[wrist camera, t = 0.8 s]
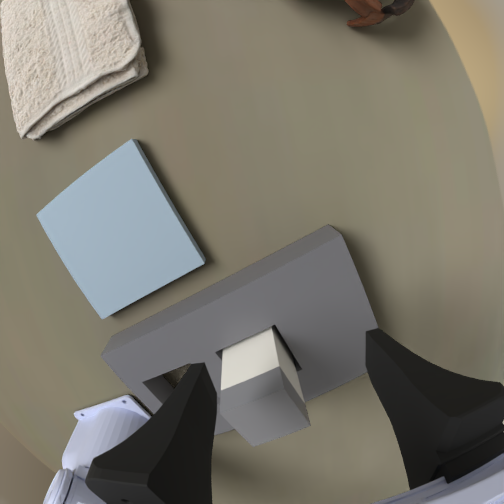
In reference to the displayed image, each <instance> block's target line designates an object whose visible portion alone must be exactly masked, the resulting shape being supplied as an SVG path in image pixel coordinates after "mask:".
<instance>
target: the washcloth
mask: <svg viewBox="0 0 504 504" xmlns="http://www.w3.org/2000/svg"><path fill="white" fill-rule="evenodd" d="M0 8H1V13H0V14H1V25H2V29H1V32H2V44H3V55H2V56H3V57H4V65H5V70H6V72H5V73H6V76H7V81H8V84H9V94H10V98H11V100H12V102H11V104H12V110H13V116H14V121H15V122H16V128H17V132H19V134H20V137H21V138H22V139H25V138H27V137H28V138H32V140H36V139H38V138H41V136H42V135H43V134H44V133H46V132H47V131H51V130H54V129H56V128H58V127H59V126H61V125H62V124H64V123H65V122H67V121H69V120H70V119H72V118H74V117H75V116H77V115H78V114H79V113H81V112H82V111H83V110H85V109H86V108H87V107H89V106H90V105H92V104H94V103H95V102H98V101H99V100H101V99H103V98H105V97H107V96H109V95H111V94H113V93H114V92H116V91H118V90H120V89H122V88H124V87H125V86H127V85H130V84H131V83H133V82H135V81H137V80H139V79H141V78H143V77H145V76H147V75H148V71H149V70H148V68H147V62H146V60H145V59H146V57H145V51H144V48H143V47H140V45H141V43H142V41H141V38H140V30H139V28H138V24H137V21H136V18H135V15H134V12H133V9H132V7H131V4H130V1H129V0H3V1H2V3H1V6H0Z"/></svg>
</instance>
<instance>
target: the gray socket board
mask: <svg viewBox="0 0 504 504" xmlns="http://www.w3.org/2000/svg"><path fill="white" fill-rule="evenodd" d="M273 325H276V327H277V329H278V330H279V332H280V334H281V335H282V337H283V339H284V340H285V342H286V343H287V345H288V347H289V348H290V350H291V353H292V357H293V361H294V364H295V368H296V372H297V376H298V379H299V383H300V387H301V391H302V394H303V398H304V402H306V401H309V400H311V399H313V398H315V397H318V396H320V395H322V394H324V393H326V392H328V391H331V390H333V389H335V388H337V387H339V386H341V385H343V384H345V383H347V382H349V381H351V380H353V379H355V378H357V377H359V376H361V375H362V374H364V373H366V372H368V371H367V368H366V366H365V352H366V331H369V330H372V329H376V328H378V325H377V322H376V320H375V317H374V314H373V311H372V309H371V306H370V303H369V301H368V298H367V295H366V293H365V290H364V288H363V285H362V283H361V280H360V278H359V275H358V273H357V270H356V268H355V265H354V263H353V260H352V258H351V256H350V253H349V251H348V248H347V246H346V244H345V241H344V239H343V237H342V235H341V234H340V233H339V232H338V231H336V230H335V229H334V228H333V227H331V226H330V225H329V224H328V225H326V226H324V227H322V228H320V229H319V230H317V231H315V232H313V233H311V234H309V235H307V236H305V237H303V238H302V239H300V240H298V241H296V242H294V243H292V244H290V245H288V246H286V247H284V248H283V249H281V250H279V251H277V252H275V253H273V254H271V255H269V256H267V257H265V258H263V259H262V260H260V261H258V262H256V263H254V264H252V265H250V266H248V267H246V268H244V269H242V270H240V271H238V272H237V273H235V274H233V275H231V276H229V277H227V278H225V279H223V280H221V281H219V282H217V283H215V284H213V285H211V286H210V287H208V288H206V289H204V290H202V291H200V292H198V293H196V294H194V295H192V296H190V297H188V298H186V299H184V300H182V301H180V302H178V303H176V304H174V305H173V306H171V307H169V308H167V309H165V310H163V311H161V312H159V313H157V314H155V315H153V316H151V317H149V318H147V319H145V320H143V321H141V322H139V323H137V324H135V325H133V326H131V327H129V328H127V329H125V330H123V331H121V332H119V333H117V334H115V335H113V336H112V337H111V339H110V341H109V342H108V344H107V346H106V347H105V349H104V351H103V352H102V354H101V357H102V358H103V360H104V361H105V362H106V363H107V364H108V365H109V367H110V368H111V369H112V370H113V371H114V372H115V373H116V375H117V376H118V377H119V378H120V379H121V380H122V381H123V382H124V383H125V385H126V386H127V387H128V388H129V389H130V390H131V391H132V392H133V393H134V394H135V395H136V396H137V397H138V398H139V399H140V400H141V401H142V403H143V404H144V405H145V406H146V407H147V408H148V409H149V410H150V411H151V412H152V413H154V414H155V413H156V412H157V411H158V409H159V408H160V407H161V406H162V405H163V403H164V402H165V401H166V400H167V398H168V397H169V396H170V394H171V393H172V392H173V390H174V388H173V387H172V386H171V384H170V383H169V382H168V381H167V380H166V379H165V378H164V377H163V375H162V374H164V373H167V372H169V371H172V370H174V369H176V368H179V367H181V366H184V365H186V364H189V363H190V364H194V363H203V362H205V365H206V367H207V370H208V372H209V375H210V377H211V380H212V382H213V385H214V387H215V390H216V392H217V417H216V425H215V432H214V435H217V434H221V433H224V432H227V431H230V430H233V429H234V428H233V427H232V426H231V425H230V423H229V422H228V421H227V420H226V419H225V418H224V417H223V416H222V415H221V414H220V396H221V375H222V356H223V348H226V347H228V346H230V345H232V344H234V343H237V342H239V341H241V340H243V339H245V338H247V337H250V336H252V335H254V334H256V333H258V332H260V331H262V330H264V329H266V328H269V327H271V326H273Z"/></svg>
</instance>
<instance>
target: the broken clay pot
mask: <svg viewBox="0 0 504 504" xmlns="http://www.w3.org/2000/svg"><path fill="white" fill-rule="evenodd" d="M344 1H346V2H347V4H348V5H349V6H350V7H351V8H352V9H353V10H354V11H355V12H356V13H358V14H359V15H361V17H360V18H358V19H355V20H350V21H348V22H347V25H348V26H351V27H360V26H369V25H373V24H378V23H381V22H382V21H384V20H385V19H387V18H389V17H390V16H391V15H396V16H398V15H401V14H403V13H404V12H406V11H407V10H408V9H409V8H410V7H411V6H412V4H413V2H414V0H395V1H394V3H393V4H391V5H388V6H386V7H384V8H383V9H381V8H382V4H381V2H379V1H378V0H344Z"/></svg>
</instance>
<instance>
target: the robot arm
mask: <svg viewBox="0 0 504 504" xmlns="http://www.w3.org/2000/svg"><path fill="white" fill-rule="evenodd" d="M365 366H366V368H367V371H368V374H369V377H370V380H371V383H372V385H373V387H374V389H375V391H376V393H377V395H378V397H379V399H380V401H381V403H382V405H383V407H384V409H385V411H386V413H387V415H388V417H389V419H390V421H391V424H392V426H393V429H394V432H395V435H396V438H397V441H398V444H399V447H400V451H401V454H402V457H403V461H404V465H405V469H406V473H407V477H408V482H409V487H410V491H407V492H404V493H402V494H399V495H396V496H393V497H390V498H387V499H384V500H381V501H378V502H374V503H371V504H503V503H504V425H503V423H502V422H503V420H504V386H503V385H502V384H501V383H500V382H492V381H485V380H479V379H475V378H470V377H466V376H463V375H460V374H457V373H454V372H451V371H448V370H446V369H443V368H441V367H439V366H437V365H435V364H432V363H430V362H428V361H427V360H425V359H423V358H421V357H420V356H418V355H416V354H414V353H413V352H411V351H410V350H408V349H407V348H405V347H404V346H402V345H401V344H400V343H398V342H397V341H395V340H394V339H393V338H391V337H390V336H389V335H387V334H386V333H384V332H383V331H382V330H380V329H379V328H376V329H372V330H369V331H366V352H365ZM124 400H125V401H124ZM74 416H75V417H76V418H77V419H78V420H79V421H78V423H77V425H76V427H75V430H74V432H73V434H72V436H71V438H70V440H69V442H68V445H67V447H66V449H65V451H64V454H63V457H62V465H63V469H61V470H59V471H58V472H57V474H56V475H55V477H54V479H53V481H52V483H51V485H50V487H49V490H48V492H47V494H46V497H45V499H44V502H43V504H212V488H211V456H212V447H213V440H214V432H215V425H216V417H217V392H216V390H215V387H214V385H213V382H212V380H211V377H210V375H209V372H208V370H207V367H206V365H205V362H203V363H194V364H191V366H190V367H189V368H188V370H187V371H186V373H185V374H184V376H183V377H182V379H181V380H180V382H179V383H178V385H177V386H176V387H175V389H174V390H173V392H172V393H171V394H170V396H169V397H168V398H167V400H166V401H165V402H164V403H163V405H162V406H161V407H160V408H159V409H158V411H157V412H156V413H155V414H154V415H153V416H151V415H150V414H149V413H148V412H147V411H146V410H144V409H143V408H142V407H141V406H140V405H139V403H138V402H137V401H136V400H135V399H134V398H133V397H131V396H130V395H125V396H122V397H119V398H116V399H113V400H110V401H107V402H104V403H101V404H98V405H95V406H92V407H89V408H86V409H82V410H79V411H76V412H75V413H74Z"/></svg>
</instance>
